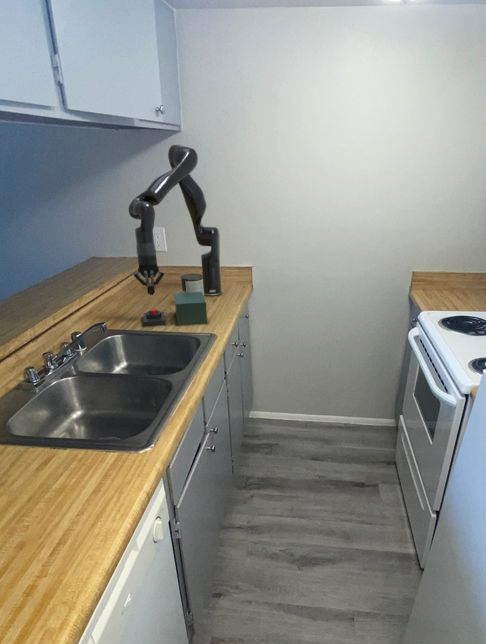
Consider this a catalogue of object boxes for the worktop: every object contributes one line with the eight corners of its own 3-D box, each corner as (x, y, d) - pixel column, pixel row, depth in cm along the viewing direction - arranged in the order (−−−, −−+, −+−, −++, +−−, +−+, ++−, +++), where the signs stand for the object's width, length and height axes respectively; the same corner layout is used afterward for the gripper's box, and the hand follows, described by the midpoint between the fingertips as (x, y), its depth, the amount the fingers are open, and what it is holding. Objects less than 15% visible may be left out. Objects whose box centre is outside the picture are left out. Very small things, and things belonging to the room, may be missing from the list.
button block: (144, 317, 212) (143, 309, 210) (164, 316, 214) (163, 307, 212) (144, 326, 201) (142, 317, 200) (165, 325, 203) (164, 316, 201)
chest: (176, 314, 216) (174, 295, 212) (203, 312, 219) (202, 293, 215) (177, 325, 203) (176, 305, 199) (207, 323, 206) (205, 304, 201)
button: (149, 312, 207) (148, 308, 206) (157, 312, 208) (157, 308, 207) (149, 315, 204) (148, 311, 203) (157, 314, 205) (157, 310, 204)
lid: (174, 295, 213) (173, 293, 212) (202, 293, 215) (202, 291, 215) (176, 305, 199) (175, 303, 198) (205, 303, 201) (205, 302, 201)
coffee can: (179, 306, 227) (176, 277, 220) (192, 300, 235) (190, 272, 228) (195, 309, 222) (193, 280, 216) (209, 304, 230) (207, 275, 224)
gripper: (162, 250, 198) (166, 291, 206) (130, 251, 195) (135, 293, 203) (163, 254, 192) (167, 296, 200) (129, 255, 189) (135, 297, 197)
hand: (151, 294), depth 202 cm, fingers closed
